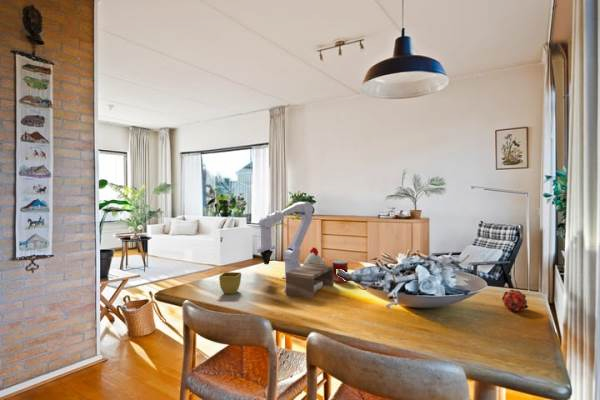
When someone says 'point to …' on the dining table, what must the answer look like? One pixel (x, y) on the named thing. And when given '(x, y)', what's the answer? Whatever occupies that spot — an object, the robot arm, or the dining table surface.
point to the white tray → (316, 285)
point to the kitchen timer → (314, 258)
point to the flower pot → (230, 282)
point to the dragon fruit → (514, 300)
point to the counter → (308, 279)
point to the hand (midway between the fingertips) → (266, 264)
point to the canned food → (339, 265)
